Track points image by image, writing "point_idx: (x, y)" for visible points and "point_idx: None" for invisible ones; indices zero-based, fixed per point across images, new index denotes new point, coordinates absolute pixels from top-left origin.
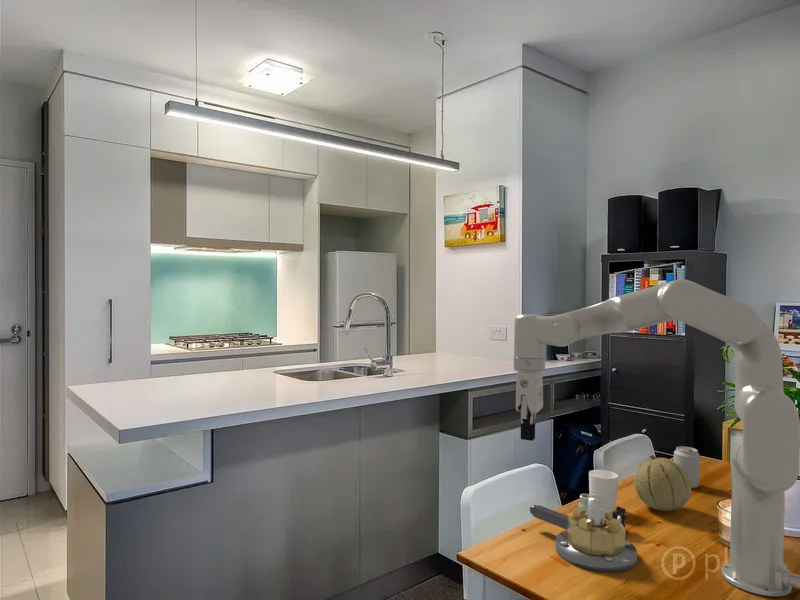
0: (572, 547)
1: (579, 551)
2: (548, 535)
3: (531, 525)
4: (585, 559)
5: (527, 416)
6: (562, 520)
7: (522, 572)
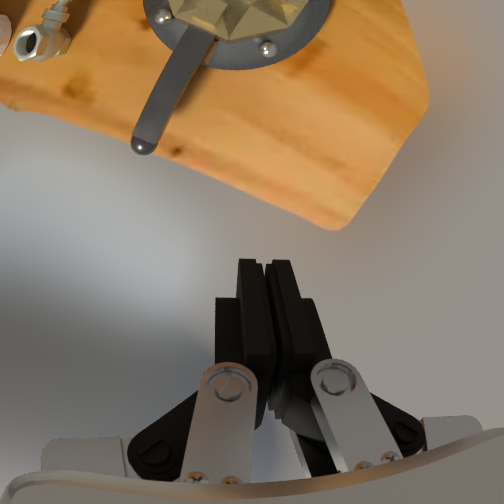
0: None
1: None
2: None
3: None
4: (326, 8)
5: (432, 438)
6: (201, 58)
7: (377, 127)
